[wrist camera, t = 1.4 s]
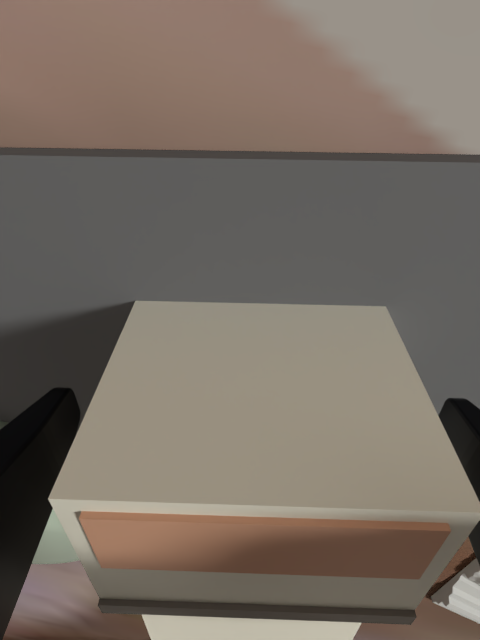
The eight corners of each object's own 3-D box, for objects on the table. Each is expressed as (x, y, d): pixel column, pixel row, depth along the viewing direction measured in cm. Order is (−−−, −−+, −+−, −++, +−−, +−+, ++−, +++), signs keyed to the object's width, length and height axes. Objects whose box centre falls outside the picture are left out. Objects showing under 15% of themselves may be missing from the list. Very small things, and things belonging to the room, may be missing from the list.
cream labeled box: (315, 561, 17) (330, 685, 14) (181, 556, 18) (164, 679, 14) (351, 432, 12) (387, 582, 9) (157, 426, 12) (122, 572, 9)
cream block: (355, 417, 12) (410, 625, 8) (154, 411, 12) (102, 613, 8) (385, 306, 9) (488, 521, 5) (135, 300, 10) (44, 506, 5)
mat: (424, 551, 18) (432, 575, 17) (-33, 535, 18) (-46, 558, 17) (668, 158, 8) (715, 172, 7) (-358, 141, 8) (-425, 153, 7)
